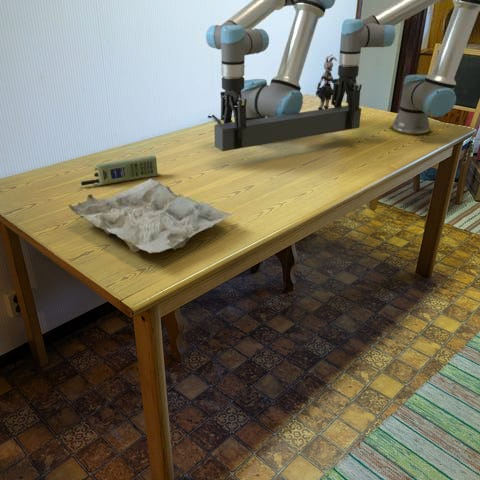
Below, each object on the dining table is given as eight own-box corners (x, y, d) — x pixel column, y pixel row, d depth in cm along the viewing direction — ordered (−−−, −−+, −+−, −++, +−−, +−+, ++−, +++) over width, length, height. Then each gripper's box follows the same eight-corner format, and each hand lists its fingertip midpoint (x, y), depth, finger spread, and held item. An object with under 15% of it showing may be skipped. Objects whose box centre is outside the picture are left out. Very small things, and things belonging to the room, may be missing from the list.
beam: (222, 151, 172) (222, 129, 169) (214, 146, 177) (214, 125, 173) (359, 127, 199) (361, 108, 195) (349, 124, 203) (351, 105, 200)
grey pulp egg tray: (148, 192, 160) (63, 221, 139) (147, 174, 157) (60, 201, 136) (236, 233, 139) (152, 274, 118) (238, 213, 136) (151, 251, 115)
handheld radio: (158, 176, 170) (83, 189, 160) (155, 173, 172) (80, 186, 162) (156, 157, 167) (79, 169, 157) (153, 154, 169) (77, 166, 159)
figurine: (317, 128, 219) (323, 55, 204) (306, 125, 223) (312, 53, 208) (338, 122, 227) (346, 52, 213) (327, 119, 231) (334, 50, 217)
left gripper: (258, 80, 160) (256, 150, 172) (228, 70, 175) (229, 135, 186) (237, 83, 157) (237, 154, 168) (209, 72, 171) (211, 138, 183)
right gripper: (374, 68, 181) (366, 131, 193) (339, 60, 196) (334, 119, 207) (358, 70, 178) (351, 134, 189) (324, 61, 193) (320, 121, 204)
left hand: (233, 144), depth 177 cm, fingers closed on beam, 6 cm apart
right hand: (342, 126), depth 198 cm, fingers closed on beam, 6 cm apart
